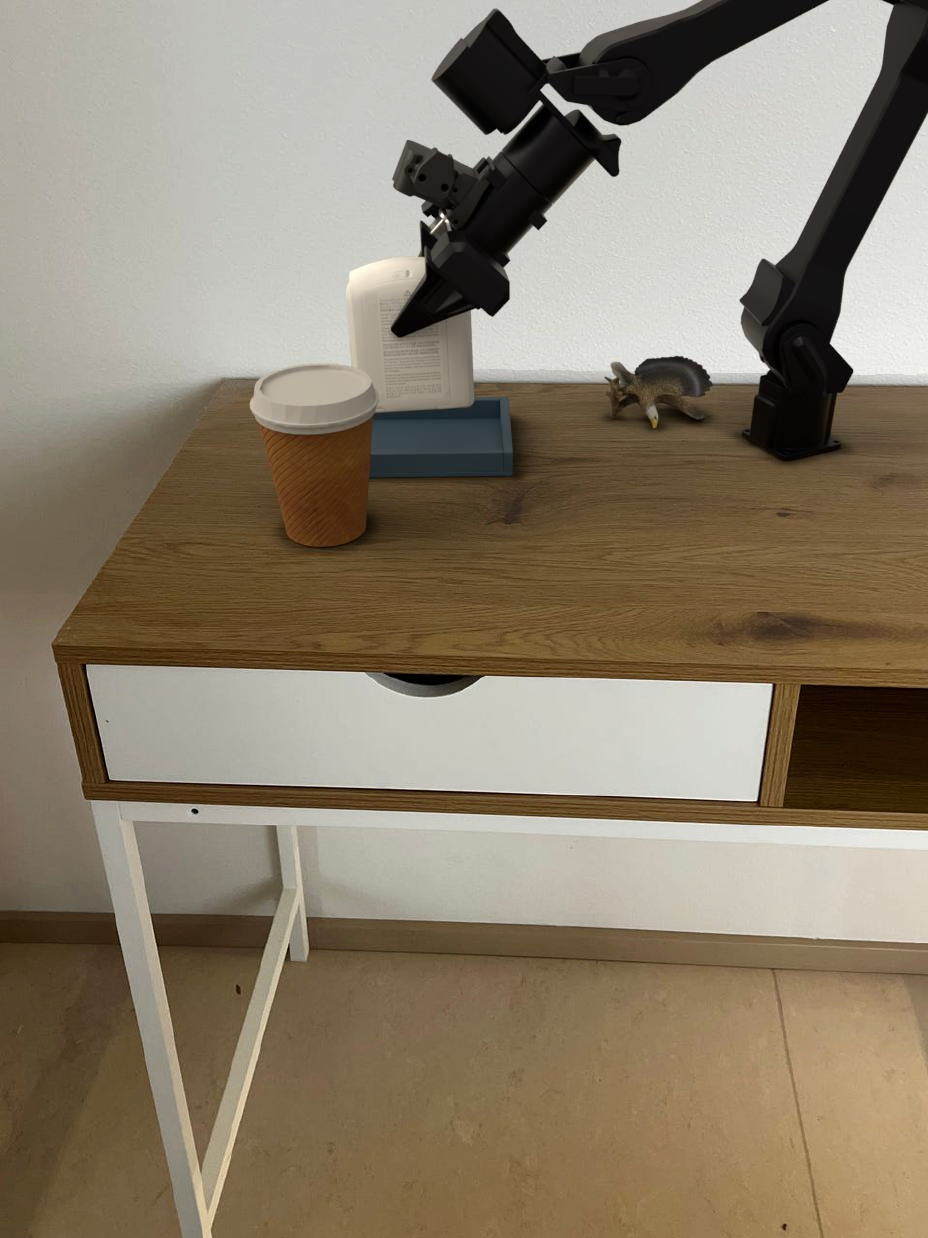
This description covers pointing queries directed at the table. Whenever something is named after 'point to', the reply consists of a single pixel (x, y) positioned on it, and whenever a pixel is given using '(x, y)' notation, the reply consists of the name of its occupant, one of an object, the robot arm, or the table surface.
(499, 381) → the table surface
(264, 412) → the disposable coffee cup
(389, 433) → the tray
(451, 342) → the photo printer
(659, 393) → the eagle figurine
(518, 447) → the table surface
